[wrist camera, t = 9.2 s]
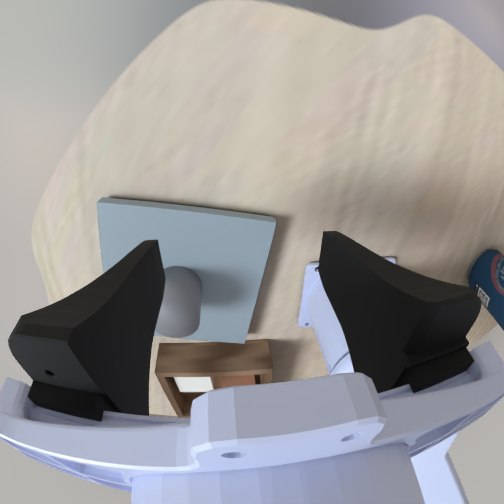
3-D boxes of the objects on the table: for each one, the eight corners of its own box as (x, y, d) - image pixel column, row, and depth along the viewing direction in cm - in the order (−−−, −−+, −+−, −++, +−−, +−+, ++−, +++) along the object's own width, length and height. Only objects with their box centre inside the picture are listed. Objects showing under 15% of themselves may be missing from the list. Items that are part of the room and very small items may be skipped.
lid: (272, 212, 22) (287, 251, 17) (243, 330, 28) (247, 375, 23) (105, 193, 19) (73, 226, 14) (118, 316, 26) (103, 359, 21)
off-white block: (209, 353, 29) (209, 374, 27) (213, 372, 31) (213, 391, 29) (174, 354, 29) (172, 374, 26) (181, 373, 31) (180, 391, 28)
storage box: (267, 339, 29) (273, 368, 26) (264, 391, 35) (267, 415, 32) (159, 343, 28) (154, 372, 25) (180, 394, 34) (178, 418, 31)
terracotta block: (254, 374, 32) (256, 393, 30) (254, 389, 34) (256, 406, 32) (222, 376, 32) (222, 395, 29) (224, 391, 34) (225, 408, 31)
